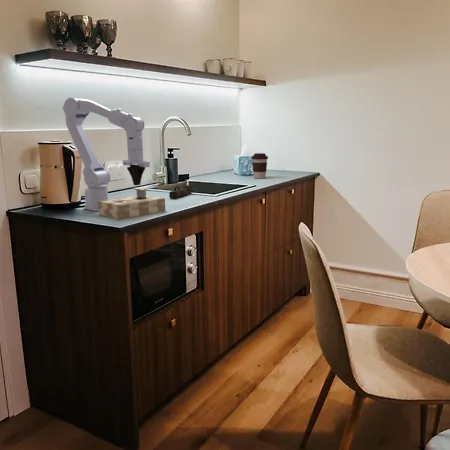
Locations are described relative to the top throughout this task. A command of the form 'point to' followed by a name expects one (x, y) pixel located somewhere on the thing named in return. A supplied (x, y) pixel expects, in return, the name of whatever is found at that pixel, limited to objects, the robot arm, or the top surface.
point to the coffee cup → (259, 165)
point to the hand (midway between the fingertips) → (137, 185)
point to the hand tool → (180, 192)
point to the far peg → (141, 194)
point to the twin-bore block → (131, 206)
